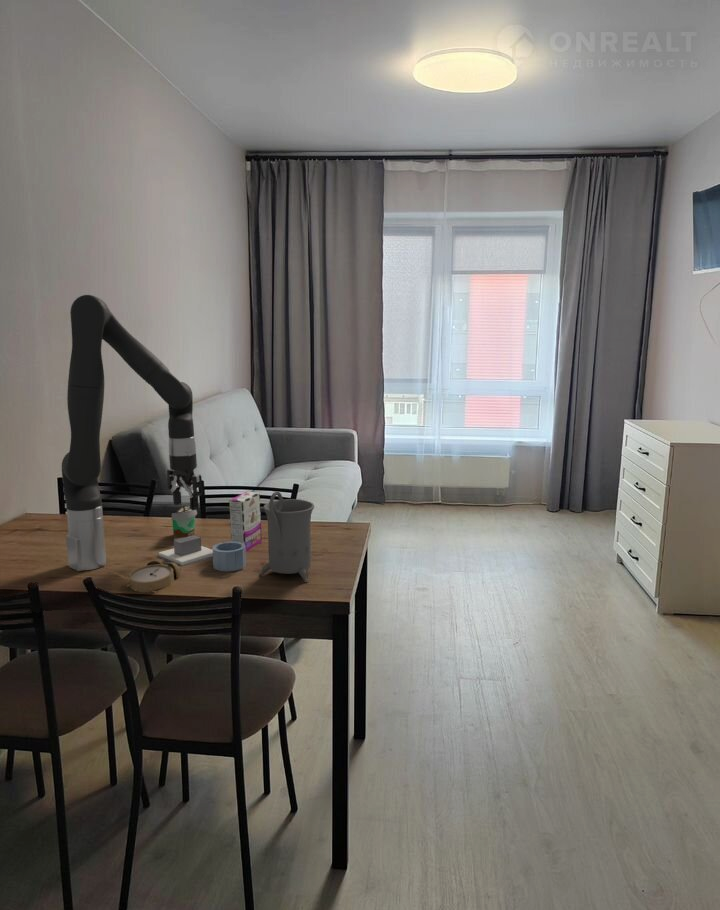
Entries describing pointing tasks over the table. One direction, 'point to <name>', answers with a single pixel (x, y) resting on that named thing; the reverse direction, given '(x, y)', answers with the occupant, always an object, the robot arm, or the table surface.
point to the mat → (179, 564)
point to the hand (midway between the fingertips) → (185, 506)
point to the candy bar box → (246, 519)
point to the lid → (187, 551)
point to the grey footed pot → (288, 535)
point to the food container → (184, 522)
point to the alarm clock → (153, 576)
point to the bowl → (229, 556)
